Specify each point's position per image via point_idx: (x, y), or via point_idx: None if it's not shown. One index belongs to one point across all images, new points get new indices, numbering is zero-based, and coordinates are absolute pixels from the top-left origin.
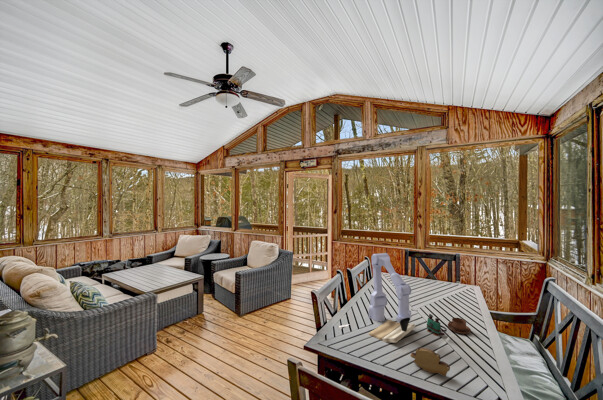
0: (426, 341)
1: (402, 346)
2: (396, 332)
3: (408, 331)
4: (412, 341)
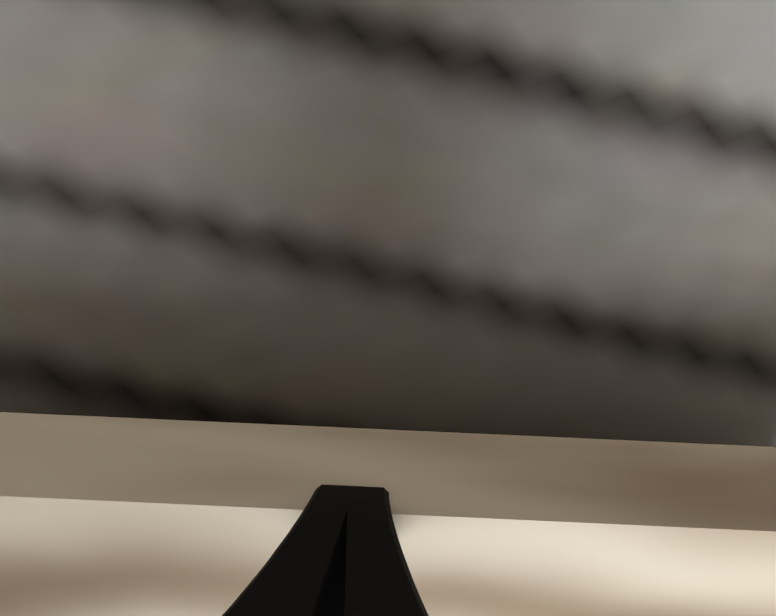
0: (90, 37)
1: (650, 338)
2: (464, 611)
3: (213, 443)
4: (327, 268)
